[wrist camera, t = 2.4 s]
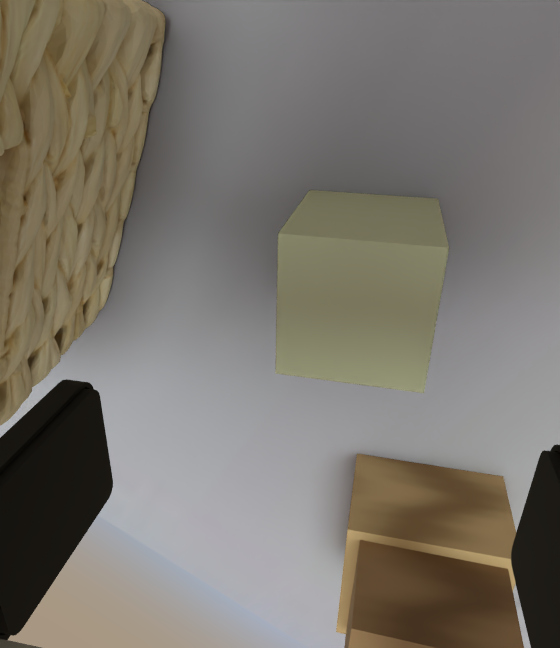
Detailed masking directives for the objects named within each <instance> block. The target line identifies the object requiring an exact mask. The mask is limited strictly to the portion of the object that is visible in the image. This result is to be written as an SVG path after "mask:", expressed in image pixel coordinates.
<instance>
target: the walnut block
mask: <svg viewBox="0 0 560 648" xmlns="http://www.w3.org/2000/svg"><path fill="white" fill-rule="evenodd" d="M345 648H524V646H523V641H522V636H521V631H520V626H519V621H518V616H517V611H516V606H515V601H514V596H513V591H512V586H511V581H510V576H509V571H508V569H506V568H501V567H496V566H491V565H486V564H481V563H476V562H471V561H466V560H460V559H455V558H450V557H445V556H440V555H435V554H430V553H425V552H420V551H415V550H410V549H405V548H400V547H395V546H390V545H385V544H379V543H374V542H369V541H364V540H360V543H359V550H358V557H357V563H356V570H355V576H354V583H353V589H352V596H351V602H350V609H349V616H348V622H347V629H346V639H345Z"/></svg>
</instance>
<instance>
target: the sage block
mask: <svg viewBox="0 0 560 648" xmlns="http://www.w3.org/2000/svg"><path fill="white" fill-rule="evenodd" d="M448 252H449V245H448V241H447V236H446V232H445V227H444V223H443V218H442V214H441V210H440V205H439V201H438V199H435V198H420V197H405V196H390V195H376V194H361V193H346V192H331V191H317V190H309V192H308V193H307V194H306V196H305V197H304V198H303V200H302V201H301V203H300V204H299V205H298V207H297V208H296V209H295V211H294V212H293V214H292V215H291V216H290V218H289V219H288V220H287V222H286V223H285V225H284V226H283V227H282V229H281V230H280V232H279V233H278V263H277V319H276V374H284V375H291V376H299V377H306V378H314V379H322V380H329V381H337V382H344V383H352V384H359V385H367V386H374V387H382V388H390V389H397V390H405V391H412V392H420V393H424V389H425V383H426V378H427V372H428V366H429V361H430V355H431V349H432V343H433V338H434V332H435V326H436V320H437V315H438V309H439V303H440V298H441V292H442V286H443V280H444V275H445V269H446V263H447V257H448Z"/></svg>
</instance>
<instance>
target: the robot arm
mask: <svg viewBox="0 0 560 648" xmlns="http://www.w3.org/2000/svg"><path fill="white" fill-rule="evenodd" d="M112 487H113V479H112V473H111V466H110V460H109V453H108V447H107V440H106V433H105V427H104V420H103V414H102V407H101V401H100V395H99V393H98V391H96V390H94V389H93V386H92V385H91V384H90V383H88V382H80V381H73V380H62V381H61V382H60V383H58V384H57V385H56V386H55V387H54V388H53V389H52V390H51V391H50V392H49V393H48V394H47V395H46V396H45V397H44V398H42V399H41V400H40V401H39V402H38V403H37V404H36V405H35V406H34V407H33V408H32V409H31V410H30V411H29V412H27V413H26V414H25V415H24V416H23V417H22V418H21V419H20V420H19V421H18V422H17V423H16V424H15V425H14V426H13V427H11V428H10V429H9V430H8V431H7V432H6V433H5V434H4V435H3V436H2V437H1V438H0V648H41V647H36V646H31V645H27V644H22V643H17V642H13V641H8V638H9V637H10V635H16V634H17V633H19V632H20V631H21V629H22V628H23V627H24V625H25V624H26V622H27V621H28V619H29V618H30V616H31V615H32V613H33V612H34V610H35V609H36V607H37V605H38V604H39V603H40V601H41V600H42V598H43V597H44V595H45V594H46V592H47V591H48V589H49V588H50V586H51V585H52V583H53V582H54V580H55V579H56V577H57V576H58V574H59V572H60V571H61V569H62V568H63V566H64V565H65V563H66V562H67V560H68V559H69V557H70V556H71V554H72V553H73V551H74V550H75V548H76V547H77V545H78V544H79V542H80V541H81V539H82V538H83V536H84V534H85V533H86V532H87V530H88V529H89V527H90V526H91V524H92V523H93V521H94V520H95V518H96V517H97V515H98V514H99V512H100V511H101V509H102V508H103V506H104V505H105V503H106V502H107V500H108V499H109V497H110V494H111V492H112ZM511 564H512V570H513V574H514V578H515V582H516V586H517V590H518V595H519V599H520V603H521V607H522V611H523V616H524V620H525V624H526V628H527V632H528V636H529V641H530V645H531V648H560V445H554V446H553V447H552V449H551V451H543V452H542V453H541V455H540V458H539V461H538V464H537V467H536V471H535V474H534V477H533V481H532V484H531V487H530V490H529V494H528V497H527V500H526V503H525V507H524V510H523V513H522V516H521V520H520V523H519V526H518V529H517V533H516V536H515V539H514V542H513V546H512V550H511Z"/></svg>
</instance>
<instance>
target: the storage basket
mask: <svg viewBox="0 0 560 648" xmlns="http://www.w3.org/2000/svg"><path fill="white" fill-rule="evenodd" d="M164 35H165V16H164V14H163V13H162V12H161V11H160V10H158V9H156V8H154V7H152V6H151V5H149V4H148V3H147V2H144V1H142V0H0V425H2V424H3V423H5V422H6V421H8V420H9V419H10V418H11V417H12V416H13V415H14V414H15V412H16V411H17V410H18V409H19V407H20V406H21V404H22V403H23V402H24V401H25V400H26V399H27V398H28V396H29V395H30V393H31V392H32V387H34V386H35V385H37V384H38V383H39V382H41V381H42V380H43V379H44V378H45V377H46V376H47V375H48V374H49V372H50V371H51V369H52V368H54V367H55V366H56V365H57V364H58V363H59V362H60V358H61V355H63V354H65V352H66V351H67V350H68V349H69V348H70V346H71V344H72V342H73V341H74V340H76V339H77V338H78V337H80V335H81V334H82V333H83V331H84V330H85V329H86V328H87V327H89V326H90V325H91V324H92V323H93V322H94V321H95V319H96V317H97V315H98V312H99V311H100V310H101V309H102V308H103V307H104V305H105V303H106V301H107V298H108V295H109V292H110V288H111V284H112V278H113V266H114V264H115V262H116V259H117V256H118V252H119V248H120V243H121V239H122V231H123V224H124V220H125V219H126V217H127V215H128V212H129V209H130V204H131V200H132V196H133V191H134V185H135V177H136V170H137V166H138V164H139V161H140V158H141V154H142V150H143V147H144V142H145V136H146V130H147V123H148V115H149V110H150V107H151V105H152V103H153V102H154V99H155V97H156V94H157V89H158V83H159V77H160V71H161V59H162V47H163V43H164Z"/></svg>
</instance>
